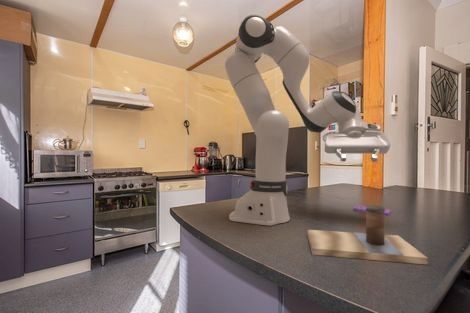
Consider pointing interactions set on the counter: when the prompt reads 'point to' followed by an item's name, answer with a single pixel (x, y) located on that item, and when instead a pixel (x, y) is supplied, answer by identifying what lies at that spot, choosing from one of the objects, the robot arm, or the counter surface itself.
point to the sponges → (363, 209)
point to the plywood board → (363, 247)
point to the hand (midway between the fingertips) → (359, 160)
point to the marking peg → (375, 225)
